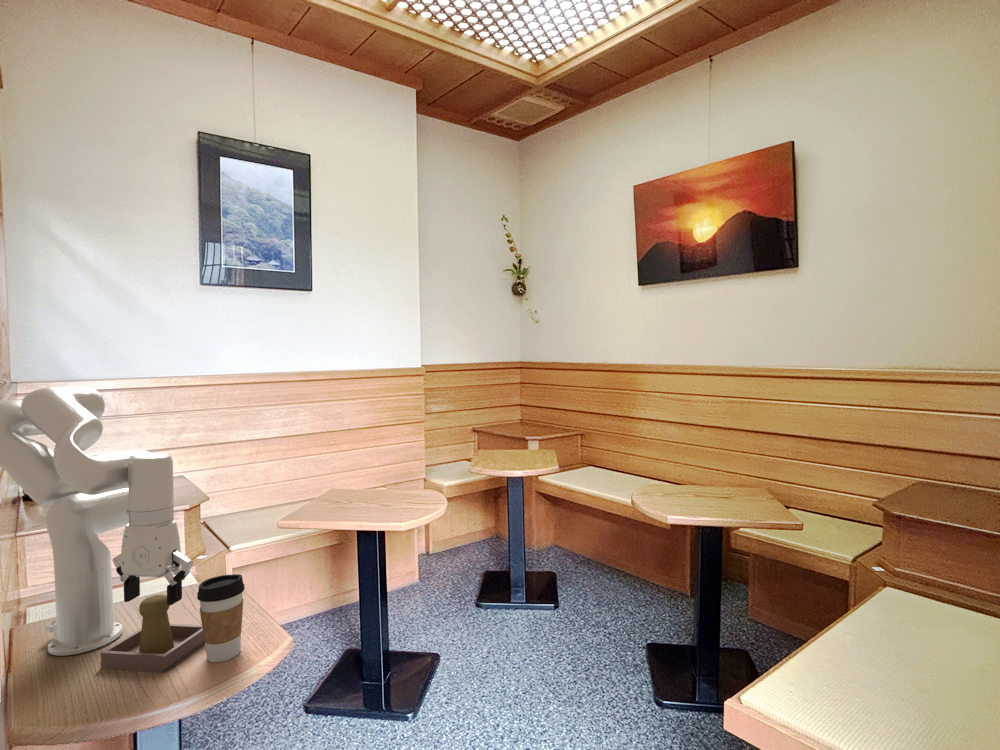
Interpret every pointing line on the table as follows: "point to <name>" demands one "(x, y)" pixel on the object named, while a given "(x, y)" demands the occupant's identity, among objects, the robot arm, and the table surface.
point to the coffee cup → (221, 615)
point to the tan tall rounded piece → (155, 625)
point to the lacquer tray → (130, 658)
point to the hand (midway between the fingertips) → (153, 600)
